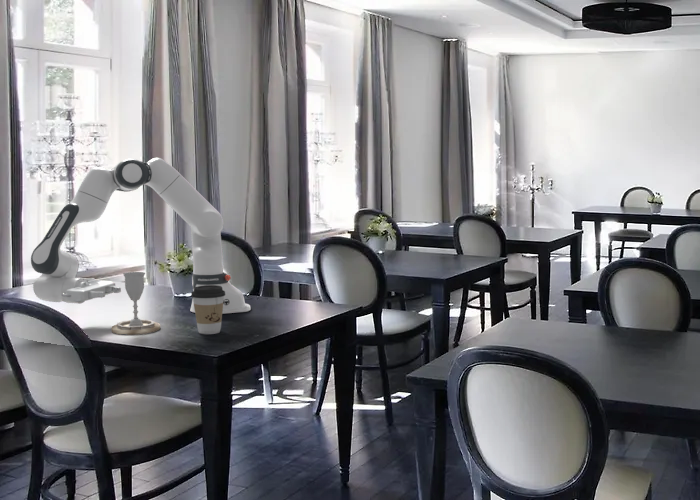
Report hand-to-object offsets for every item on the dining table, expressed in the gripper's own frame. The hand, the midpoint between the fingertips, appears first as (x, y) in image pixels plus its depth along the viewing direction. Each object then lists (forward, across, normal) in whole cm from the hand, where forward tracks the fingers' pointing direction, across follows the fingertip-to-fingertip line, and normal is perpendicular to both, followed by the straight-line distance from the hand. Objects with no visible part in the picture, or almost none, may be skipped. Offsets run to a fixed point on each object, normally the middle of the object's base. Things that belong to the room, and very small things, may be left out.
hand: (112, 292), depth 288 cm
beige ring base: (+9, 0, +12) cm, 15 cm away
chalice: (+9, 0, +11) cm, 14 cm away
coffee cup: (+34, +4, +12) cm, 37 cm away
